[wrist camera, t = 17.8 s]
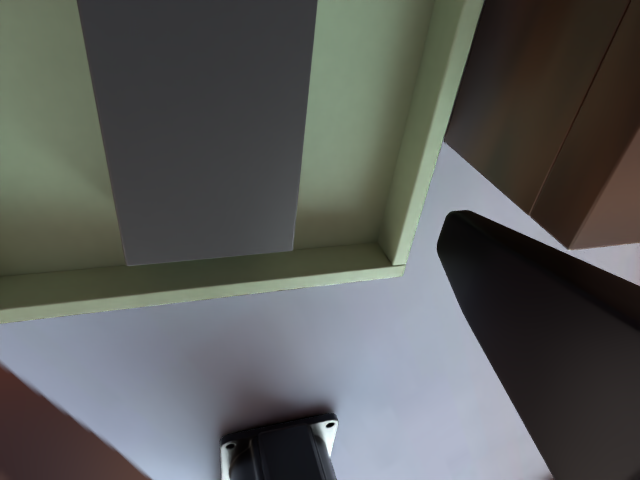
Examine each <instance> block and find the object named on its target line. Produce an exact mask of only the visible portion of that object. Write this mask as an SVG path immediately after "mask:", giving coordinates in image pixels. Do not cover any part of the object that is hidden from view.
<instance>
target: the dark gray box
mask: <svg viewBox="0 0 640 480" xmlns="http://www.w3.org/2000/svg"><path fill="white" fill-rule="evenodd" d="M76 1H77V6H78V12H79V17H80V22H81V28H82V33H83V38H84V44H85V49H86V54H87V60H88V65H89V71H90V76H91V81H92V87H93V92H94V97H95V103H96V108H97V113H98V119H99V124H100V130H101V135H102V140H103V146H104V151H105V156H106V162H107V167H108V172H109V178H110V183H111V189H112V194H113V199H114V205H115V210H116V215H117V221H118V226H119V231H120V237H121V242H122V248H123V253H124V258H125V264H126V265H127V266H135V265H146V264H157V263H168V262H178V261H189V260H200V259H211V258H222V257H232V256H243V255H254V254H265V253H276V252H286V251H292V250H293V246H294V236H295V226H296V216H297V206H298V196H299V185H300V175H301V165H302V155H303V145H304V135H305V125H306V115H307V105H308V95H309V85H310V75H311V65H312V55H313V45H314V35H315V24H316V14H317V4H318V0H76Z"/></svg>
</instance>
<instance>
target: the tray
mask: <svg viewBox="0 0 640 480" xmlns="http://www.w3.org/2000/svg"><path fill="white" fill-rule="evenodd" d="M483 3H484V0H318V4H317V14H316V24H315V35H314V45H313V55H312V65H311V75H310V85H309V95H308V105H307V115H306V125H305V135H304V145H303V155H302V165H301V175H300V185H299V196H298V206H297V216H296V226H295V236H294V246H293V250H292V251H286V252H276V253H265V254H254V255H243V256H232V257H222V258H211V259H200V260H189V261H178V262H168V263H157V264H146V265H135V266H127V265H126V264H125V258H124V253H123V248H122V242H121V237H120V231H119V226H118V221H117V215H116V210H115V205H114V199H113V194H112V189H111V183H110V178H109V172H108V167H107V162H106V156H105V151H104V146H103V140H102V135H101V130H100V124H99V119H98V113H97V108H96V103H95V97H94V92H93V87H92V81H91V76H90V71H89V65H88V60H87V54H86V49H85V44H84V38H83V33H82V28H81V22H80V17H79V12H78V6H77V1H76V0H0V324H2V323H10V322H19V321H27V320H36V319H44V318H53V317H61V316H70V315H78V314H87V313H95V312H104V311H112V310H121V309H129V308H138V307H146V306H155V305H163V304H172V303H180V302H188V301H197V300H205V299H214V298H222V297H231V296H239V295H248V294H256V293H265V292H273V291H282V290H290V289H299V288H307V287H316V286H324V285H333V284H341V283H350V282H358V281H367V280H375V279H384V278H392V277H401V276H403V273H404V270H405V267H406V262H407V259H408V256H409V252H410V249H411V246H412V242H413V239H414V236H415V232H416V229H417V225H418V222H419V219H420V215H421V212H422V209H423V205H424V202H425V199H426V195H427V192H428V188H429V185H430V182H431V178H432V175H433V172H434V168H435V165H436V161H437V158H438V155H439V151H440V148H441V145H442V141H443V138H444V135H445V131H446V128H447V124H448V121H449V118H450V114H451V111H452V108H453V104H454V101H455V98H456V94H457V91H458V87H459V84H460V81H461V77H462V74H463V71H464V67H465V64H466V61H467V57H468V54H469V50H470V47H471V44H472V40H473V37H474V34H475V30H476V27H477V24H478V20H479V17H480V13H481V10H482V7H483Z"/></svg>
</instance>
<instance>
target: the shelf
mask: <svg viewBox="0 0 640 480" xmlns="http://www.w3.org/2000/svg"><path fill="white" fill-rule="evenodd" d="M444 142H445V143H447V144H448V145H449V146H450V147H451V148H452V149H453V150H455V151H456V152H457V153H458V154H459V155H460V156H461V157H462V158H464V159H465V160H466V161H467V162H468V163H469V164H470V165H472V166H473V167H474V168H475V169H476V170H477V171H478V172H479V173H481V174H482V175H483V176H484V177H485V178H486V179H487V180H489V181H490V182H491V183H492V184H493V185H494V186H495V187H497V188H498V189H499V190H500V191H501V192H502V193H503V194H504V195H506V196H507V197H508V198H509V199H510V200H511V201H512V202H514V203H515V204H516V205H517V206H518V207H519V208H520V209H522V210H523V211H524V212H525V213H526V214H527V215H529V216H530V217H531V218H532V219H533V220H534V221H536V222H537V223H538V224H539V225H540V226H541V227H542V228H543V229H545V230H546V231H547V232H548V233H549V234H550V235H551V236H553V237H554V238H555V239H556V240H557V241H558V242H559V243H561V244H562V245H563V246H564V247H565V248H566V249H567V250H579V249H588V248H597V247H605V246H614V245H623V244H632V243H640V0H485V4H484V7H483V11H482V14H481V17H480V21H479V24H478V27H477V31H476V34H475V37H474V41H473V44H472V47H471V51H470V54H469V57H468V61H467V64H466V67H465V71H464V74H463V78H462V81H461V84H460V88H459V91H458V94H457V98H456V101H455V104H454V108H453V111H452V114H451V118H450V121H449V124H448V128H447V131H446V134H445V138H444Z"/></svg>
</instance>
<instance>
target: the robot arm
mask: <svg viewBox="0 0 640 480" xmlns="http://www.w3.org/2000/svg"><path fill="white" fill-rule="evenodd" d="M437 253H438V256H439V258H440V261H441V263H442V265H443V268H444V270H445V272H446V275H447V277H448V279H449V282H450V284H451V287H452V289H453V291H454V294H455V296H456V298H457V301H458V303H459V305H460V308H461V310H462V312H463V314H464V316H465V318H466V320H467V322H468V324H469V325H470V327H471V329H472V331H473V333H474V335H475V336H476V338H477V340H478V342H479V344H480V345H481V347H482V349H483V351H484V353H485V354H486V356H487V358H488V360H489V362H490V363H491V365H492V367H493V369H494V371H495V372H496V374H497V376H498V378H499V380H500V381H501V383H502V385H503V387H504V389H505V391H506V392H507V394H508V396H509V398H510V400H511V401H512V403H513V405H514V407H515V409H516V410H517V412H518V414H519V416H520V418H521V419H522V421H523V423H524V425H525V427H526V428H527V430H528V432H529V434H530V436H531V438H532V439H533V441H534V443H535V445H536V447H537V448H538V450H539V452H540V454H541V456H542V457H543V459H544V461H545V463H546V465H547V466H548V468H549V470H550V472H551V474H552V475H553V477H554V479H555V480H640V286H638V285H636V284H634V283H631V282H629V281H627V280H625V279H622V278H620V277H618V276H616V275H613V274H611V273H609V272H607V271H604V270H602V269H600V268H598V267H595V266H593V265H591V264H589V263H586V262H584V261H582V260H580V259H577V258H575V257H573V256H571V255H568V254H566V253H564V252H562V251H559V250H557V249H555V248H553V247H550V246H548V245H546V244H544V243H541V242H539V241H537V240H535V239H532V238H530V237H528V236H526V235H523V234H521V233H519V232H517V231H514V230H512V229H510V228H508V227H505V226H503V225H501V224H499V223H496V222H494V221H492V220H490V219H487V218H485V217H483V216H481V215H478V214H476V213H474V212H472V211H469V210H462V211H452V212H450V213H449V214H448V215H447V216H446V218H445V221H444V224H443V227H442V230H441V233H440V236H439V239H438V242H437ZM337 427H338V419H337V416H336V415H335V414H333V413H330V414H325V415H320V416H315V417H310V418H305V419H301V420H296V421H291V422H286V423H281V424H276V425H272V426H267V427H262V428H257V429H252V430H247V431H243V432H238V433H233V434H229V435H226V436H224V437H222V438H221V439H220V462H221V480H337V479H336V476H335V473H334V469H333V466H332V463H331V460H330V455H331V451H332V447H333V443H334V439H335V435H336V431H337Z"/></svg>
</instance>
